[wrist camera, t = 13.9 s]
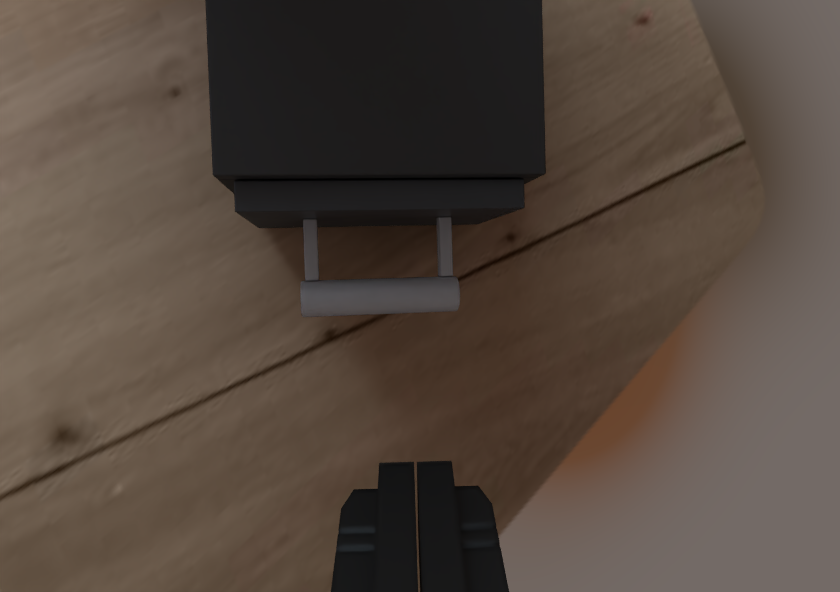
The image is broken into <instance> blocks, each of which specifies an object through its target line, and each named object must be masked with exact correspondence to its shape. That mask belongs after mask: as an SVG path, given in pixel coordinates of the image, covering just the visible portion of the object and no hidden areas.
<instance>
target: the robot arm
mask: <svg viewBox="0 0 840 592" xmlns="http://www.w3.org/2000/svg"><path fill="white" fill-rule="evenodd" d="M417 493H418V538H419V567H420V592H509V589H508V584H507V580H506V574H505V569H504V564H503V558H502V553H501V549H500V545H499V538H498V533H497V529H496V522H495V517H494V512H493V507H492V503H491V502H490V501H489V499H488V498H487V497H486V495H485V494H484V493H483V491H482V490H481V489H480V488H479V486H455V485H454V476H453V468H452V462H451V461H429V462H417ZM331 592H418V577H417V545H416V514H415V482H414V462H391V463H379V478H378V489H354V490H353V492H352V493H351V495H350V496H349V498H348V499H347V501H346V502H345V504H344V505H343V507H342V508H341V515H340V523H339V534H338V539H337V547H336V555H335V563H334V571H333V579H332V588H331Z"/></svg>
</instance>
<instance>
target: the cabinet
mask: <svg viewBox="0 0 840 592" xmlns="http://www.w3.org/2000/svg"><path fill="white" fill-rule="evenodd" d="M205 1H206V24H207V48H208V72H209V95H210V119H211V142H212V166H213V175H214V176H215V177H216V178H217V179H218V180H219V181H220V182H221V183H222V184H224V185H225V186H226V187H227V188H228V189H229V190H230V191H232V192H233V193H234V181H235V180H385V179H524V184H525V183H528V182H530V181H532V180H534V179H536V178H538V177H540V176H542V175H544V174H545V173H546V166H545V120H544V74H543V28H542V0H205Z"/></svg>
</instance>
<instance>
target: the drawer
mask: <svg viewBox="0 0 840 592" xmlns="http://www.w3.org/2000/svg"><path fill="white" fill-rule="evenodd" d="M234 197H235V212H237V213H238V214H239V215H241V216H242V217H244V218H245V219H247V220H248V221H250V222H251V223H252V224H254V225H255V226H257V227H258V228H293V227H303V235H304V262H305V280H306V281H302V282H301V312H302V316H303V317H319V316H344V315H369V314H395V313H420V312H445V311H457V310H458V308H459V304H460V287H459V282H458V279H457V277H455V276H453V259H452V225H462V224H479V223H482V222H485V221H488V220H491V219H494V218H497V217H499V216H502V215H505V214H508V213H511V212H514V211H517V210H520V209H522V208H524V207H525V206H524V179H385V180H235V181H234ZM406 225H437V255H438V276H439V277H414V278H381V279H349V280H319V260H318V232H317V227H349V226H406Z"/></svg>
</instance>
